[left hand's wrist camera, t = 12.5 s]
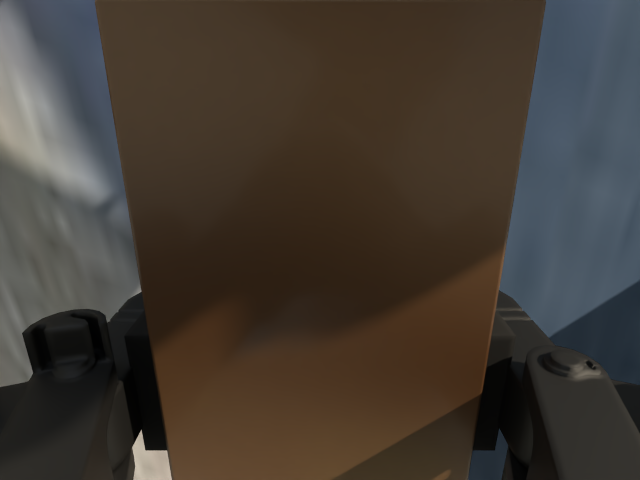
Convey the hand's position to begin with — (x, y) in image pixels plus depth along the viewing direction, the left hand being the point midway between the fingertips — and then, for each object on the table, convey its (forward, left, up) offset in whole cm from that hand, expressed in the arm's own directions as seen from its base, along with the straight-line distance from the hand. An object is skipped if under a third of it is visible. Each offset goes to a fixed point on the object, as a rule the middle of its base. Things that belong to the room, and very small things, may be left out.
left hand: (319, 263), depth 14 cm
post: (+19, 0, -1) cm, 19 cm away
